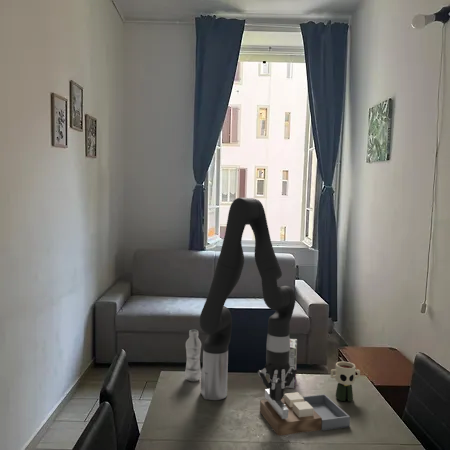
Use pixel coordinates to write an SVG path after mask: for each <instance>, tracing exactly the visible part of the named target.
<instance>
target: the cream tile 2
mask: <svg viewBox="0 0 450 450" xmlns="http://www.w3.org/2000/svg"><path fill="white" fill-rule="evenodd" d="M313 410H314V408H313V407H312V406H311V405H310V404H309V403H308V402H307V401H304V402H295V403H293V411H294V412H295V413H296V414H297V416H298V417H306V416H313Z"/></svg>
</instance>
